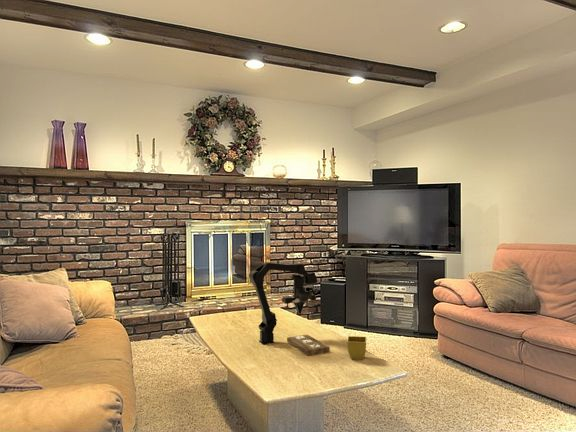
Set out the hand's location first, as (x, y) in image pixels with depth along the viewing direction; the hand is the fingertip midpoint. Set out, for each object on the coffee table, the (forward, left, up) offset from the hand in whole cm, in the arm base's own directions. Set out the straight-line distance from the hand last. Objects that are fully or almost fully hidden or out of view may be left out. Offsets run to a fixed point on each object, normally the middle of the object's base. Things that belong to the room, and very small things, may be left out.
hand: (299, 313), depth 232 cm
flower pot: (+9, -44, -13) cm, 47 cm away
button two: (-4, -18, -12) cm, 22 cm away
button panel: (-4, -18, -13) cm, 22 cm away
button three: (-4, -26, -12) cm, 29 cm away
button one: (-4, -9, -13) cm, 16 cm away
